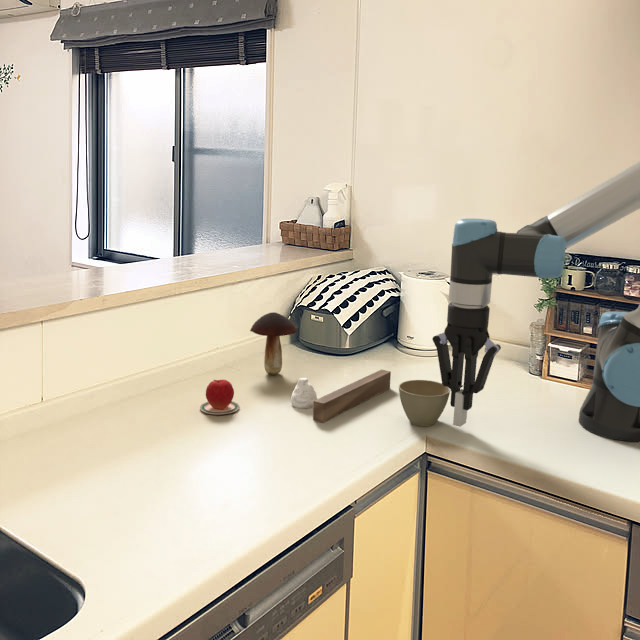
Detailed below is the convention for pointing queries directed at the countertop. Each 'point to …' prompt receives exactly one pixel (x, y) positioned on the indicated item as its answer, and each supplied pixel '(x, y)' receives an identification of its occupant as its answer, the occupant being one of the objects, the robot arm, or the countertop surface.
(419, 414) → the flower pot
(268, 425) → the countertop surface
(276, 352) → the decorative mushroom
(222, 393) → the apple
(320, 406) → the board
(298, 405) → the garlic bulb
